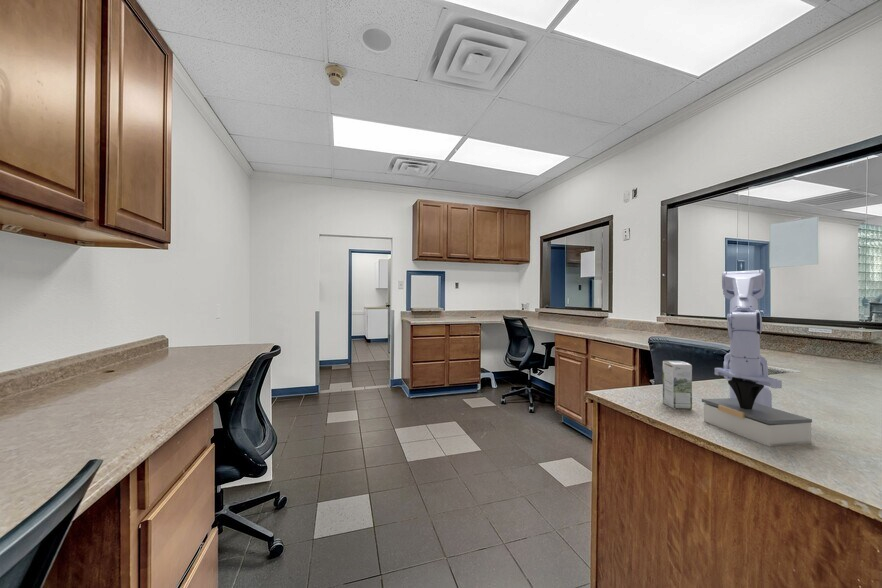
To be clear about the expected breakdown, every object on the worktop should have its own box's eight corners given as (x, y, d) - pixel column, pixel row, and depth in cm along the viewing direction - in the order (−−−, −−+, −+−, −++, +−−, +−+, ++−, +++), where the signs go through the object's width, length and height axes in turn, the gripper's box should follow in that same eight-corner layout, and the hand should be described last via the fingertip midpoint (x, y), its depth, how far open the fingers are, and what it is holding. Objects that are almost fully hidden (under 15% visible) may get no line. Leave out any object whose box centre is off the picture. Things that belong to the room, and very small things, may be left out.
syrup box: (680, 403, 105) (679, 360, 105) (693, 409, 99) (692, 363, 99) (662, 403, 105) (661, 360, 106) (673, 409, 99) (672, 363, 100)
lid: (738, 402, 92) (738, 398, 92) (812, 425, 75) (811, 419, 76) (699, 403, 90) (699, 398, 90) (766, 426, 74) (766, 420, 74)
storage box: (739, 418, 91) (739, 401, 92) (811, 443, 76) (810, 422, 76) (703, 421, 90) (703, 403, 90) (769, 446, 74) (769, 425, 74)
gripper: (704, 352, 89) (705, 400, 89) (764, 362, 75) (765, 419, 75) (726, 352, 90) (727, 399, 90) (788, 361, 76) (790, 418, 76)
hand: (746, 408), depth 82 cm, fingers closed, pressing on lid
